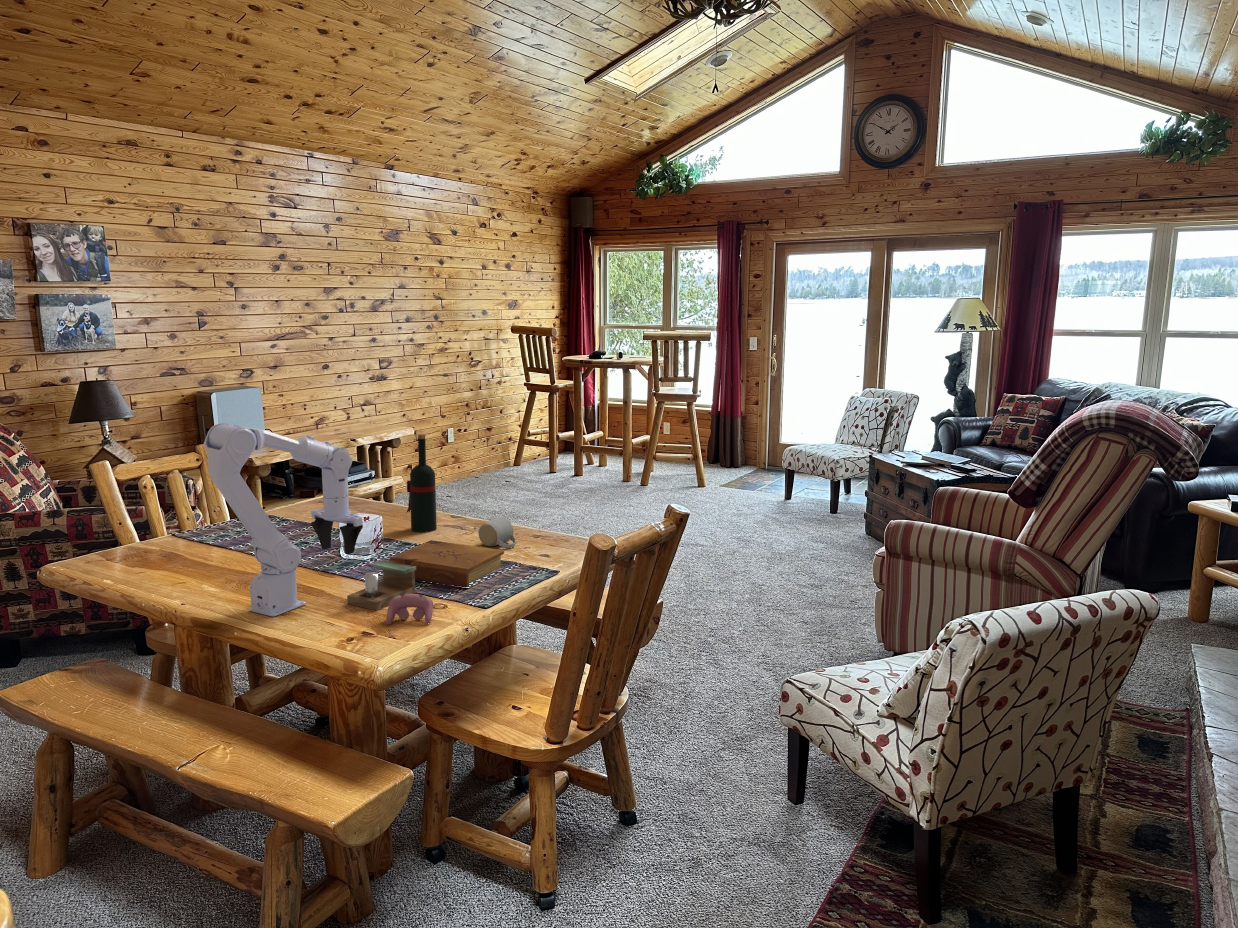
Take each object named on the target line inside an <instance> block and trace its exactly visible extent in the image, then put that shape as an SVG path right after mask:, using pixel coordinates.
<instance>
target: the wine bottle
mask: <svg viewBox="0 0 1238 928" xmlns="http://www.w3.org/2000/svg"><path fill="white" fill-rule="evenodd" d="M417 438H418V439H417V443H418V444H417V448H418V464H417V465H415V466H414V467H413V468H412V469H411V471H410V473H409V480H407V481H406V492H407V493H408V494H409V495H408V507H407V510H406V513H405V514H407V513H410V530H411V531H412V532H414V533H430V532H435V531H436V530H437V529H438V527H437V493H436V472H435V470H434V469H433V468H432V467H431V466H430V465H429V464H427V450H426V445H427V443H426V434H423V433H421V434H417Z"/></svg>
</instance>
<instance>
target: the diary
mask: <svg viewBox="0 0 1238 928" xmlns="http://www.w3.org/2000/svg"><path fill="white" fill-rule="evenodd" d="M504 554H505V550H504V549H497V548H490V547H484V546H475V545H468V544H461V543H453V542H448V541H447V542H446V541H441V540H439V541H438V540H433V539H430V540H428V541H426V542H423V543H421V544H418V545H415V546H414V547H412V548H409V549H407V550H405V551H403V552H401V553H398V554H394V555H393V556H391V557H390V559H389V560H388V561H391V562H396V563H401V564H406V565H411V566H416V570H415V580H418V581H417V582H419V581H425V582H424V583H426V582H432V583H439V584H445V585H454V586H462V587H468V586H469V583H471V582H473V581H475V580H478V579H480V578H482V577H484V576H485V575H487V574H489V573H491V572H492V571H494V570H497V569H499V568H500V567H502V565H501V564H502V563H501V561H502V560H501V557H502V556H503V555H504ZM432 583H431V584H432Z"/></svg>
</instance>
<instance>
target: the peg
mask: <svg viewBox="0 0 1238 928" xmlns="http://www.w3.org/2000/svg"><path fill="white" fill-rule="evenodd" d="M379 581H380V580H379V572H377V571H376V572H375V571H370V572H366V573H365V574H364V589H365V595H366V598H371V599H375V598H377V597H379V583H380V582H379Z"/></svg>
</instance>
